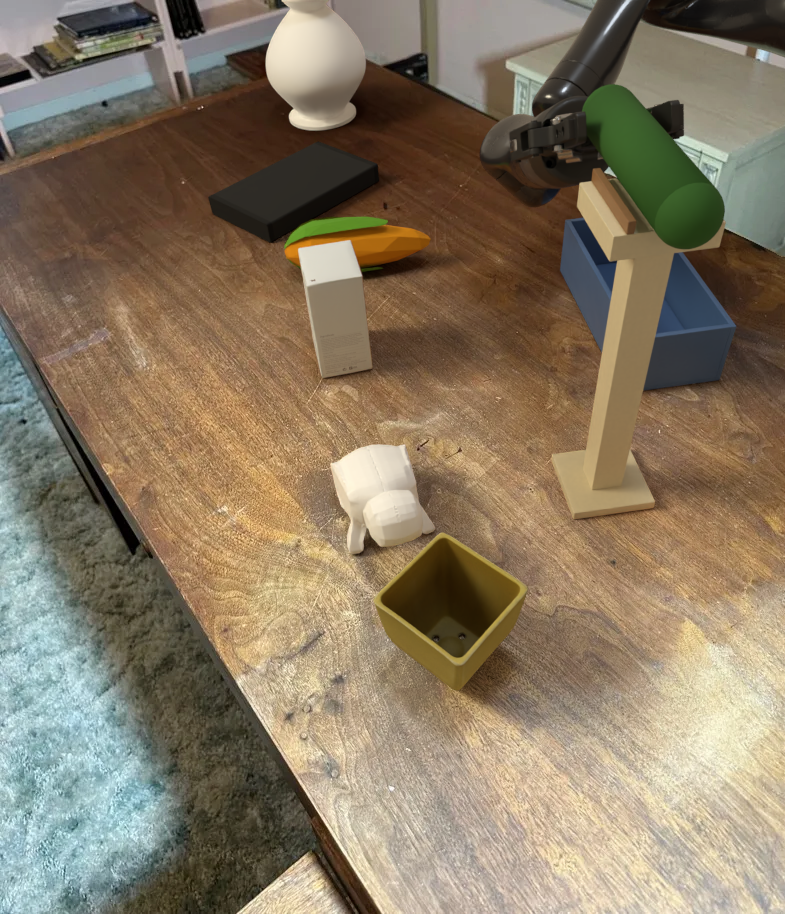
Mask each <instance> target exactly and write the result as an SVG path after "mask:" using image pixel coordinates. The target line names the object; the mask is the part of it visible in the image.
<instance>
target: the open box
mask: <svg viewBox="0 0 785 914" xmlns="http://www.w3.org/2000/svg"><path fill="white" fill-rule="evenodd" d="M616 266H617V261H611V262H610V261H609V260H608V258H607V256H606V255H605V253H604V251H603V250H602V248H601V246H600V245H599V243H598V241H597V239H596V238H595V236H594V234H593V233H592V231H591V229H590V228H589V226H588V224H587V223H586V221H585V219H584V218H583V217H577V218H570V219H569V218H568V219H565V220H564V230H563V239H562V249H561V258H560V268H559V271H560V273H561V275H562V278H563V279H564V281H565V283H566V285H567V287H568V290H569V291H570V293H571V294H572V297H573V299H574V301H575V303H576V305H577V307H578V309H579V312H580V313H581V316H582V317H583V319H584V321H585V323H586V325H587V327H588V329H589V331H590V332H591V334H592V336H593V339H594V341H595V342H596V345H597V347H598V348H599V351H600V352H601V353H602V350H603V344H604V338H605V332H606V326H607V320H608V314H609V308H610V302H611V296H612V290H613V284H614V278H615V272H616ZM736 329H737V325H736V323H735V322H734V320H732V318H731V316H730V315H729V314H728V313H727V311H726V310H725V309H724V307H723V305H722V304H721V303H720V302H719V300H718V299H717V298H716V296H715V294H714V293H713V291H712V290H711V289H710V288H709V286H708V285H707V283H706V282H705V281H704V279H703V278H702V277H701V275H700V274H699V273H698V271H697V270H696V268H695V267H694V266H693V264H692V262H690V260H689V259H688V257H687V256H686V255H685V253H684V252H679V253H674V256H673V260H672V265H671V269H670V274H669V278H668V282H667V287H666V291H665V296H664V300H663V304H662V309H661V313H660V318H659V322H658V327H657V331H656V335H655V340H654V344H653V349H652V353H651V358H650V362H649V366H648V371H647V375H646V380H645V384H644V389H643V392H644V391H649V390H658V389H665V388H671V387H672V388H673V387H678V386H687V385H693V384H700V383H708V382H715V381H720V379H721V376H722V373H723V370H724V367H725V364H726V360H727V357H728V355H729V351H730V349H731V345H732V342H733V339H734V335H735V332H736Z"/></svg>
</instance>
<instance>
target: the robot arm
mask: <svg viewBox="0 0 785 914" xmlns="http://www.w3.org/2000/svg"><path fill="white" fill-rule="evenodd" d="M640 22H641V23H643V24H645V25H648V26H652V27H655V28H658V29H663V30H667V31H668V30H669V31H674V32H678V33H679V32H680V33H685V34H692V35H696V36H697V35H699V36H704V37H709V38H714V39H719V40H724V41H727V42H730V43H734V44H738V45H742V46H746V47H748V48H749V47H750V48H752V49H756V50H759V51H760V50H761V51H764V52H767V53H771V54H774V55H777V56H780V57H783V58H785V0H596V1H595V3H594V5H593V7H592V9H591V11H590V13H589V14H588V16H587V18H586V20H585V22H584V24H583V25H582V27H581V29H580V31H579V32H578V34H577V36H575V39H574V40H573V42H571V43H572V44H571V45H570V46H569V48H568V50H566V53H565V54H564V55H563V57H562V58H561V59H560V60H559V62H558V63H557V65H556V66H555V67H554V69H553V70H552V72H551V73H550V74H549V75H548V76H547V78H546V80H545V81H544V83H543V84H542V86H540V88H539V90H538V91H537V92H536V94H535V95H534V97H533V100H532V103H531V112H532V114H531V115H530V114H526V113H515V114H511V115H507V116H506V117H504V118H502V119H500V120H499V121H498V122H497V123H495V124H494V125H493V126H492V127H491V128H490V129H489V130H488V131H487V133H486V135H485V136H484V138H483V140H482V142H481V145H480V148H479V162H480V164H481V167H482V168H483V169H484V171H485V172H486V173H487V174H488V175H489V176H491V178H492V179H494V180H495V181H496V182H497V183H499V184H500V185H501V186H502V187H503V188H504V189H505V190H506V191H507V192H508V193H510V194H511V195H512V196H513V197H514V198H515V199H516V200H517V201H519V202H520V203H521V204H522V205H523V206H525V207H528V208H539V207H542V206H545V205H546V204H548V203H549V202H551V201H552V200H553V199H555V197H557V195H558V194H559V193H560V191H561V190H562V189H565V188H571V187H575V186H576V187H577V186H579V184H580V183H582V182H589V181H591V180H592V172H593V169H595V168H601V170H602V171H603V173H604V174H605V172H606V171H607V170H608V169H609V168H610V167H609V166H608V164H607V163H606V162H605V160H604V159H603V157H602V156H601V155H600V153H599V152H598V150H597V149H596V147H595V146H594V145H593V143H592V142H591V140H590V139H589V138H588V136H587V124H586V113H585V111H582V109H583V106H584V104H585V102H586V100H587V98H588V97H589V96H590V95H591V94H592V93H593V92H594V91H595V90H597V89H598V88H600V87H602V86H605V85H609V84H617V83H616V82H617V80H618V79H619V76H620V75H621V72H622V69H623V67H624V64H625V61H626V59H627V57H628V53H629V50H630V48H631V45H632V43H633V40H634V37H635V35H636V32H637V29H638V28H639V25H640ZM684 105H685V103H681V102H680V100H679V99H673V100H668V101H667V100H666V101H664V102H663V103H658V104H654V105H653V106H651V107H647V108H646V107H645V108H646V109H647V110H648V111H649V113H650V114H651V115H652V116H653V117H654V118H655V119H656V120H657V122H658V123H659V124H660V125H661V126H662V127H663V128H664V130H665V131H666V132H667V133H668V134H669V135H670V136H671V137H672V139H673V140H680V138H681V137H682V138H683V137H684V136H685V111H684V110H685V106H684Z"/></svg>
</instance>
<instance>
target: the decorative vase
mask: <svg viewBox="0 0 785 914" xmlns="http://www.w3.org/2000/svg"><path fill="white" fill-rule="evenodd" d="M280 1H281V2H282V3H283V4H284V5H285V6H287V7H288V8H289V10H288V11H287V13H286V14H285V16H284V17H283V18H282V20H281V21H280V23H278V25H277V28H276V29H275V31H274V33H273V35H272V37H271V39H270V41H269V44H268V46H267V50H266V54H265V72H266V77H267V80H268V82H269V84H270V85H271V87H272V88H273V90H274V91H275V92H276V93H277V94H278V95H279V96H280V97H281V98H282V100H284V101H285V102H286V103H287V104H288V105H289V106H290V107H292V109H291V111H290V112H289V113H288V121H289V123H290V124H291V125H292V126H293V127H295V128H297V129H300V130H305V131H328V130H332V129H336V128H339V127H343V126H345V125H347V124H349V123H350V122H352V121H353V120H354V119H355V117H356V115H357V108H356V106H355V105H354V104H353V103H352V102H350V101H351V99H352V98H353V97H354V95H355V94H356V91H357V90H358V88H359V86H360V85H361V83H362V81H363V79H364V77H365V75H366V70H367V60H366V59H367V58H366V53H365V49H364V47H363V44H362V42H361V40H360V38H359V37H358V35H357V34H356V33H355V32H354V31H355V30H353V29H352V27H351V26H350V25H349V24H348V22H346V21H345V20H344V19H343V18H342V17H341V16H340V15H339V14H338V13H337V12H336V11H334V9H332V8H331V7H329V6H328V2H329V1H330V0H280Z"/></svg>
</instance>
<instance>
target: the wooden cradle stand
mask: <svg viewBox="0 0 785 914" xmlns="http://www.w3.org/2000/svg"><path fill="white" fill-rule="evenodd" d="M576 208H577V209H578V212H579V213H580V214H581V217H582V218H584V219H585V221H586V223H587V224H588V226H589V228H590V229H591V231H592V233H593V234H594V236H595V238H596V239H597V241H598V243H599V245H600V246H601V248H602V250H603V251H604V253H605V255H606V256H607V258H608V260H609V261H610V262H611V261H617V266H616V272H615V278H614V284H613V290H612V296H611V302H610V308H609V314H608V320H607V326H606V332H605V338H604V344H603V350H602V352H601V357H600V362H599V369H598V376H597V379H596V380H597V381H596V387H595V394H594V398H593V405H592V411H591V417H590V423H589V429H588V435H587V440H586V448H585V449H580V450H573V451H565V452H558V453H552V454H551V459H550V461H551V465H552V466H553V469H554V473H555V475H556V478H557V480H558V484H559V486H560V488H561V491H562V494H563V497H564V499H565V503H566V504H567V507H568V510H569V512H570V515H571V517H572V519H573V520H581V519H588V518H594V517H601V516H607V515H608V516H609V515H614V514H621V513H627V512H636V511H641V510H650V509H654V508H655V504H656V500H655V498H654V496H653V494H652V492H651V489H650V487H649V485H648V483H647V481H646V479H645V477H644V475H643V472H642V471H641V468H640V466H639V464H638V463H637V460H636V458H635V456H634V454H633V452H632V450H631V445H632V441H633V437H634V433H635V428H636V424H637V419H638V415H639V410H640V405H641V401H642V398H643V392H644V391H643V389H644V384H645V380H646V375H647V371H648V366H649V362H650V358H651V353H652V349H653V344H654V340H655V335H656V331H657V327H658V322H659V318H660V313H661V309H662V304H663V300H664V296H665V291H666V287H667V282H668V278H669V274H670V269H671V265H672V260H673V256H674V253H679V252H683V253H687V252H694V251H700V250H709V249H717V248H720V246H721V242H722V238H723V235H724V231H725V228H726V224H727V222H726V220H725V219H724V220H723V223H722V226H721V227H720V229H719V231H718V232H717V233H716V235H715V236H714V237H713V238H712V239H711V240H710V241H708V242H707V243H705V244H703V245H702V246H699V247H696V248H693V249H677V248H674V247H671V246H669V245H667V244H666V243H664V242H663V241H662V240H661V239H660V238H659V237H658V235H657V234H656V232H655V231H654V230H653V228H652V227H651V225H650V224H649V223H648V221H647V220H646V218H645V217H644V215H643V214H642V213H641V211H640V210H639V208H638V207H637V206H636V204H635V203H634V201H633V200H632V198H631V197H630V196H629V194H628V193H627V191H626V190H625V189H624V187H623V186H622V184H621V183H620V181H619V180H618V179H617V177H615V178H608V177H607V175H606V174H605V172H604V173H603V171H602V170H601V168H595V169H593V172H592V180H591V181H589V182H582V183H580V184H579V185H578V193H577V202H576Z"/></svg>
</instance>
